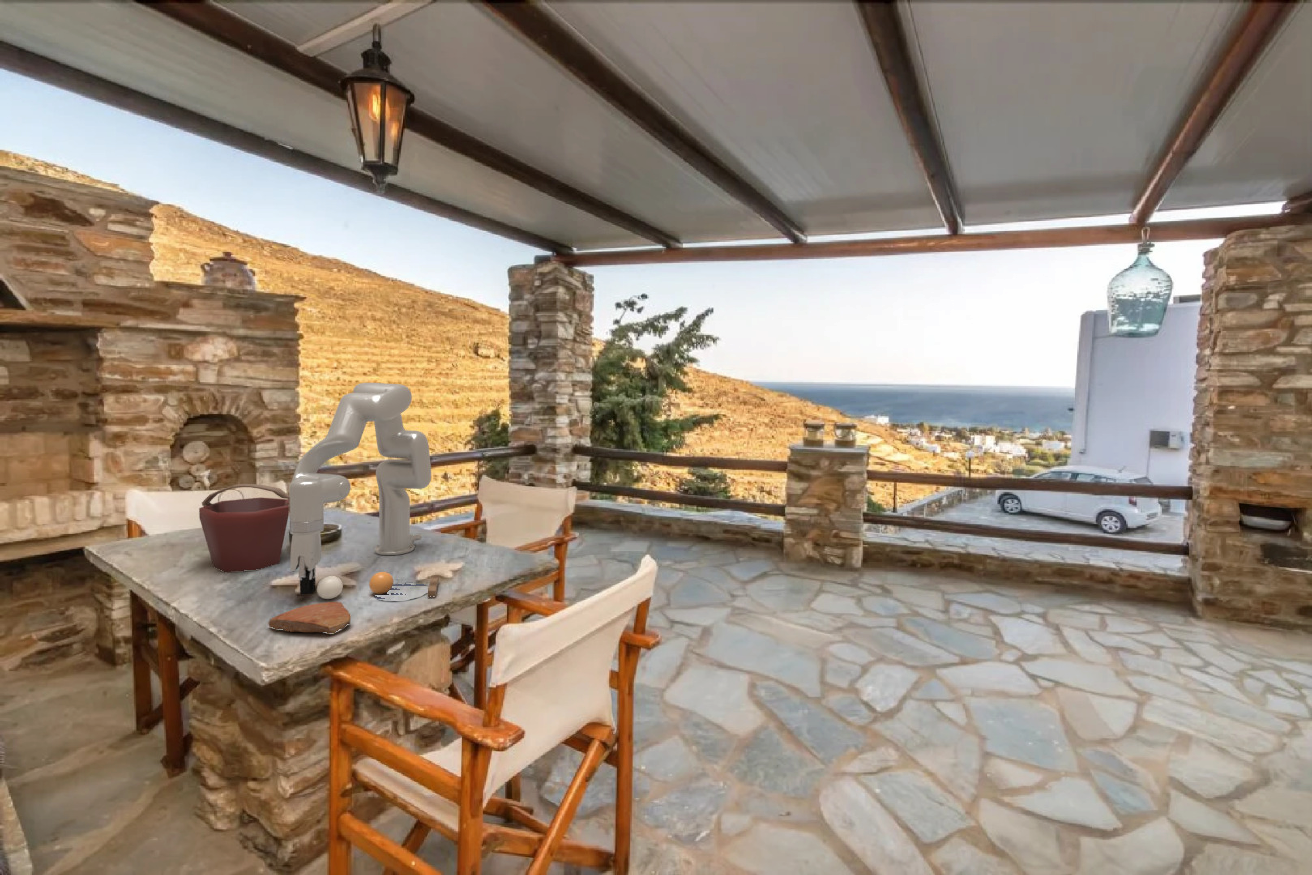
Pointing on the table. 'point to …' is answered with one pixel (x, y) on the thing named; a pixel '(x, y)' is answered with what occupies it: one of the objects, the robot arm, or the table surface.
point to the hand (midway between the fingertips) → (307, 592)
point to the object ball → (381, 582)
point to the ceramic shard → (313, 618)
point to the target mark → (398, 589)
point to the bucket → (245, 529)
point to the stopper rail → (433, 586)
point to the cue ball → (329, 587)
